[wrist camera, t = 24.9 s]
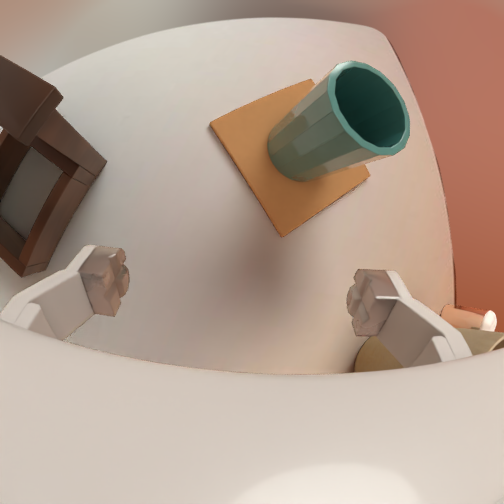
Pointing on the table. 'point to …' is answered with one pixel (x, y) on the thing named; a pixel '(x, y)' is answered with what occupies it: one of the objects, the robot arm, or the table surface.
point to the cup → (340, 124)
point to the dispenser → (54, 149)
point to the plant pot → (380, 358)
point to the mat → (264, 172)
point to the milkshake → (469, 318)
